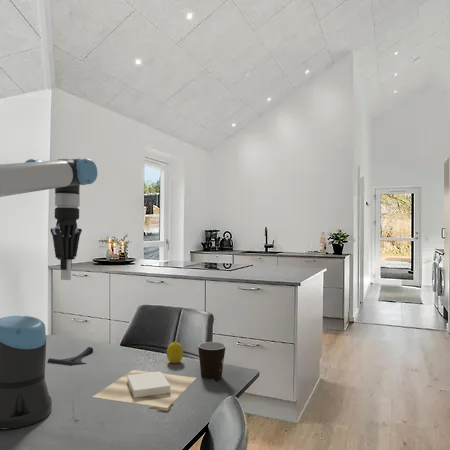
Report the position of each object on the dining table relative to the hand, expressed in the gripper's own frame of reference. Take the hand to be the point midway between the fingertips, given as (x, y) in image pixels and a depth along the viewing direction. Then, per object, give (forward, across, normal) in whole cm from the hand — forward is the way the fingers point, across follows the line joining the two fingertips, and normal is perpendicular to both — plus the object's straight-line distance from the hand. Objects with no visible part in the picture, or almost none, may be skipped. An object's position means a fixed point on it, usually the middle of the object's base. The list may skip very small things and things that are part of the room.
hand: (65, 279), depth 131 cm
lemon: (+30, -16, +32) cm, 46 cm away
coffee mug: (+30, -10, +48) cm, 57 cm away
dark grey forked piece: (+30, -12, -3) cm, 33 cm away
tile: (+28, +2, +30) cm, 41 cm away
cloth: (+29, +6, +33) cm, 45 cm away
